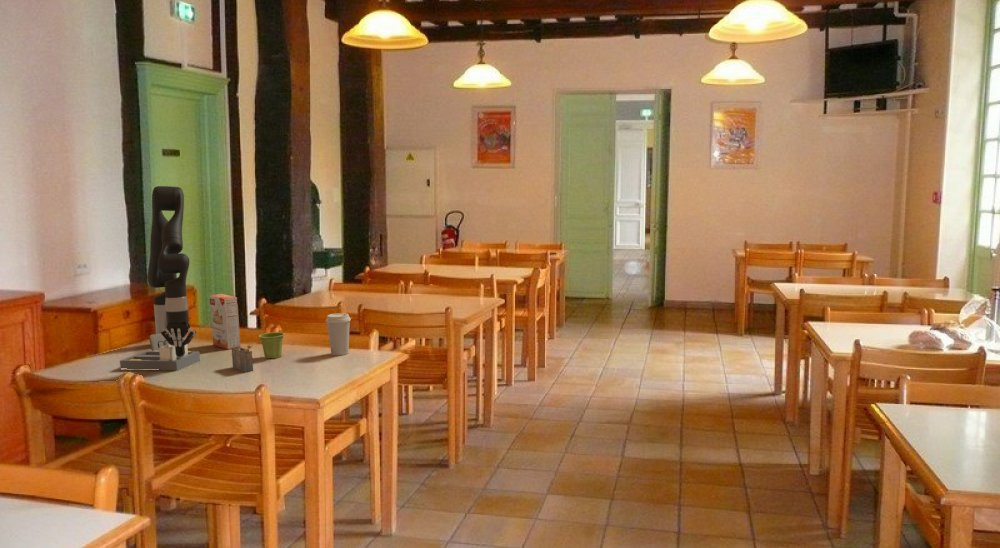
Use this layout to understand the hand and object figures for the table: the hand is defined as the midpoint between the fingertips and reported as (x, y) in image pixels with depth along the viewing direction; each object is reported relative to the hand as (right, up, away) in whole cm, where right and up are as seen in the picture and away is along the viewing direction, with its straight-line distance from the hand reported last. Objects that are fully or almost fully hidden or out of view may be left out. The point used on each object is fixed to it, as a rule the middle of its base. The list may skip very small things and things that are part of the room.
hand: (180, 356), depth 298 cm
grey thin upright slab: (+24, -5, -3) cm, 25 cm away
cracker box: (+4, 0, +37) cm, 37 cm away
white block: (-3, -2, +9) cm, 9 cm away
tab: (-5, -3, +1) cm, 5 cm away
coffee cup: (+54, -1, +18) cm, 57 cm away
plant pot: (+29, -2, +15) cm, 33 cm away
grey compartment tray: (-9, -4, +6) cm, 12 cm away
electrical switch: (-15, -2, +22) cm, 27 cm away
